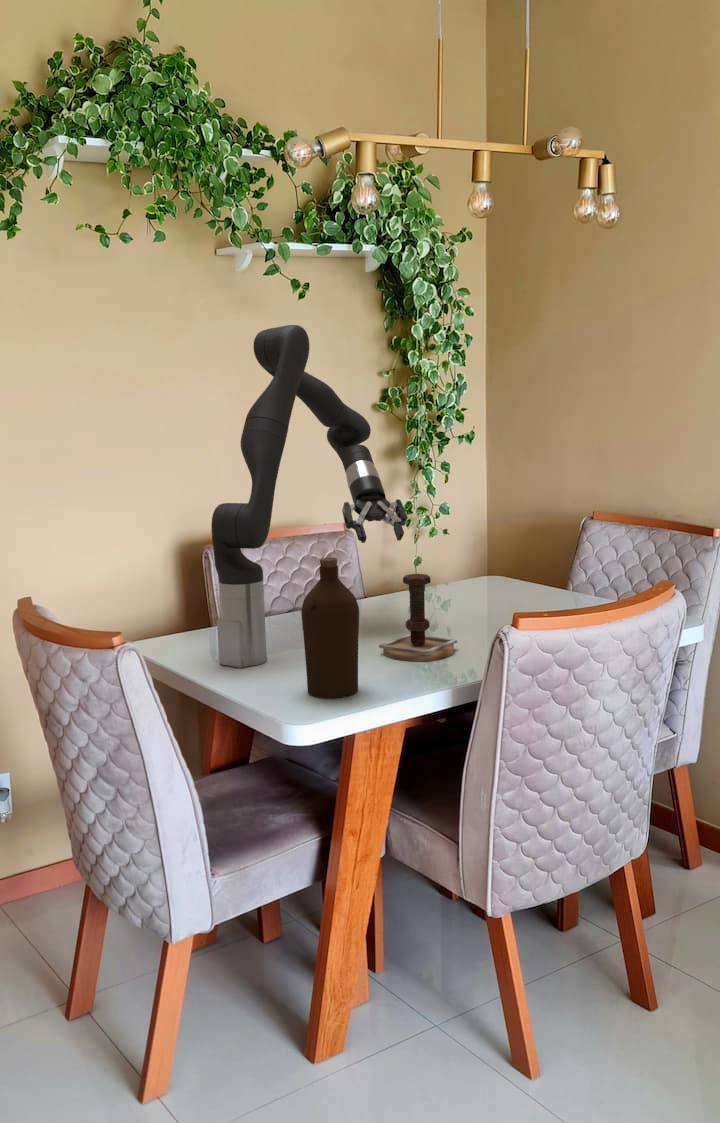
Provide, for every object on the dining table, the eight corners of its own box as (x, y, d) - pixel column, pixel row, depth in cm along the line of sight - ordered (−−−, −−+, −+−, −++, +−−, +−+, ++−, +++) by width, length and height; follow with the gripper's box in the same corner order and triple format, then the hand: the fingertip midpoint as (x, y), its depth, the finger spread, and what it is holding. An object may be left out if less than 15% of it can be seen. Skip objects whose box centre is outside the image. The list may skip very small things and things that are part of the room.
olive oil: (359, 699, 179) (355, 563, 175) (300, 699, 179) (295, 564, 175) (363, 683, 189) (359, 553, 185) (308, 683, 190) (303, 554, 186)
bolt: (431, 642, 213) (430, 573, 210) (431, 648, 208) (430, 577, 205) (404, 642, 213) (403, 573, 211) (403, 648, 209) (402, 578, 206)
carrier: (429, 664, 200) (429, 654, 200) (369, 655, 209) (369, 645, 209) (466, 648, 212) (466, 639, 212) (408, 640, 221) (408, 631, 221)
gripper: (338, 475, 225) (355, 531, 216) (397, 472, 229) (416, 527, 220) (332, 496, 231) (348, 551, 222) (390, 493, 235) (408, 547, 226)
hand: (382, 539), depth 221 cm, fingers open, 8 cm apart
